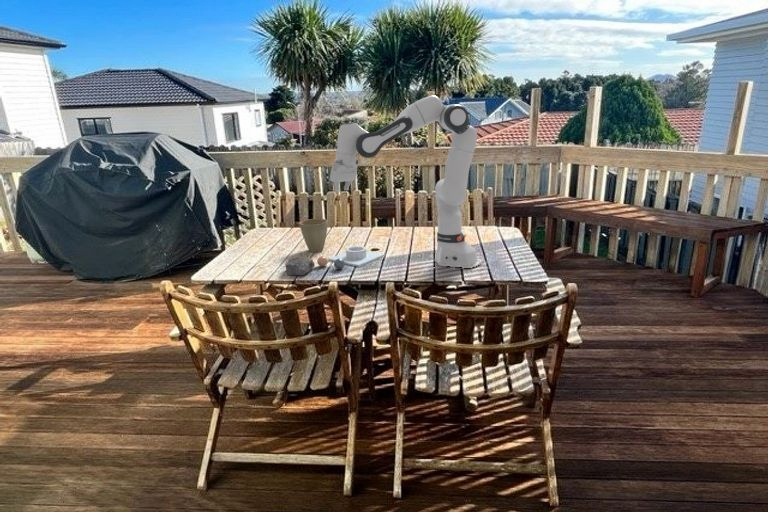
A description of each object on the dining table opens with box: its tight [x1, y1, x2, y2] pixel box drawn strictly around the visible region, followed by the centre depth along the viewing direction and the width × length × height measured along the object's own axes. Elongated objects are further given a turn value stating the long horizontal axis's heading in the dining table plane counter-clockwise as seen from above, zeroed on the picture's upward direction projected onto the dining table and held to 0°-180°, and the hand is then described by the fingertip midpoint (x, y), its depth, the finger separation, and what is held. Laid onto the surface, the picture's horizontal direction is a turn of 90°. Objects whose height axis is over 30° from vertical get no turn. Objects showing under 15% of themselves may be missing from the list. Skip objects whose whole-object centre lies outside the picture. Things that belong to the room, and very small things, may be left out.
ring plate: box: [327, 245, 385, 268], centre depth 226 cm, size 20×20×5 cm
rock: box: [285, 255, 315, 276], centre depth 209 cm, size 13×6×15 cm
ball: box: [316, 255, 329, 267], centre depth 216 cm, size 5×5×5 cm
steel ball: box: [333, 259, 346, 270], centre depth 210 cm, size 5×5×5 cm
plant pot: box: [299, 218, 329, 253], centre depth 241 cm, size 15×15×16 cm
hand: (341, 191), depth 202 cm, fingers open, 8 cm apart
